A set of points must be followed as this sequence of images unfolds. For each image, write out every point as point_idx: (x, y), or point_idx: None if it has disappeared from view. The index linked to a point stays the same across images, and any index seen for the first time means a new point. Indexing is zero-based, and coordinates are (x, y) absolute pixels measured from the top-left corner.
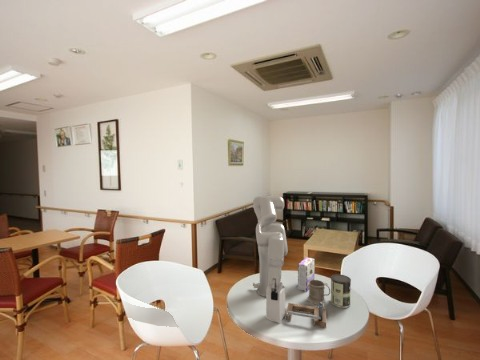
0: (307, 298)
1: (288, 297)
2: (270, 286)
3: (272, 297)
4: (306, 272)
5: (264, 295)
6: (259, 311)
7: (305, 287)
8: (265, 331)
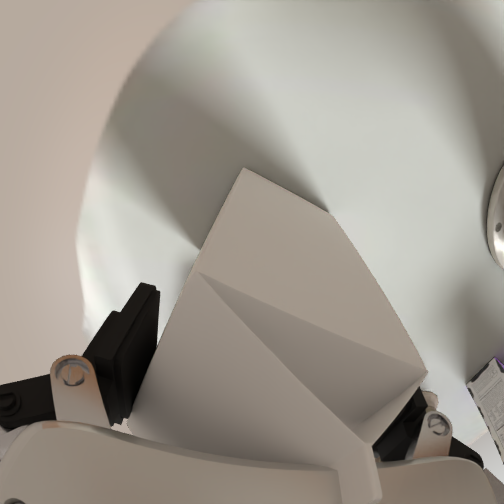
0: (422, 392)
1: (459, 319)
2: (226, 396)
3: (107, 318)
4: (500, 454)
5: (499, 185)
6: (338, 120)
7: (476, 396)
8: (113, 164)
